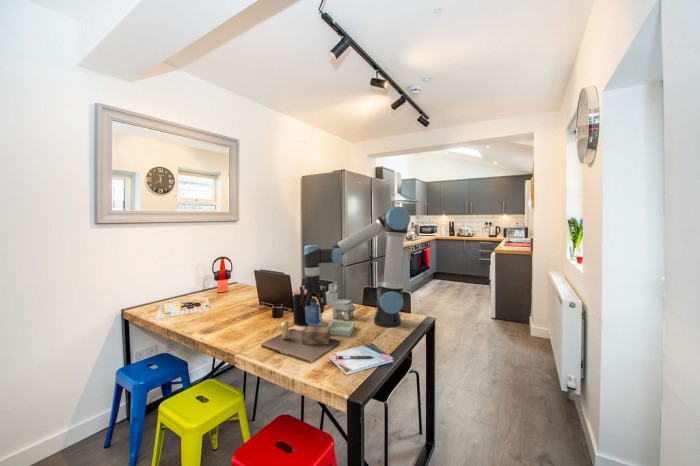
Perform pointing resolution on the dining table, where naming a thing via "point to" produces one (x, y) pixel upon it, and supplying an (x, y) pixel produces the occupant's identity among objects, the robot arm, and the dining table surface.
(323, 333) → the brown wooden block
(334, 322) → the tray
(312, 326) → the slot block
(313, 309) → the perfume bottle
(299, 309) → the coffee jar
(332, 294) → the toy llama
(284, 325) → the bench dog
